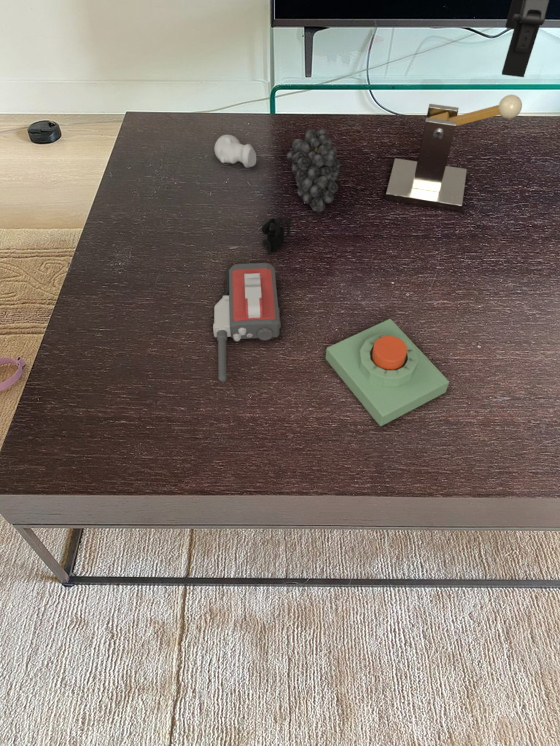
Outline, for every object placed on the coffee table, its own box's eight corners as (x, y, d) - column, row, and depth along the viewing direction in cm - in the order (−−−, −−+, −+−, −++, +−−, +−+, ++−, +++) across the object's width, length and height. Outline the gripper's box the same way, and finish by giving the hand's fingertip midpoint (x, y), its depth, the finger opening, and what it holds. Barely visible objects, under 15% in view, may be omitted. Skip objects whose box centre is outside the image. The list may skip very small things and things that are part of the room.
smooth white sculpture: (211, 162, 108) (231, 143, 109) (242, 181, 104) (263, 161, 105) (203, 144, 104) (224, 124, 105) (235, 163, 100) (256, 142, 101)
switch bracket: (465, 175, 104) (485, 102, 94) (460, 211, 98) (481, 138, 88) (393, 164, 106) (406, 91, 96) (385, 199, 100) (397, 126, 90)
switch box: (445, 392, 77) (453, 372, 74) (380, 426, 74) (384, 408, 70) (387, 329, 83) (392, 308, 80) (325, 358, 80) (327, 338, 77)
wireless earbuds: (266, 263, 91) (265, 236, 87) (252, 256, 92) (251, 229, 88) (293, 237, 94) (294, 210, 90) (279, 231, 95) (280, 204, 91)
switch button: (411, 362, 75) (414, 352, 74) (384, 375, 74) (386, 366, 72) (391, 340, 77) (393, 330, 76) (365, 352, 76) (367, 343, 74)
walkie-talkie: (214, 275, 89) (214, 387, 77) (211, 252, 86) (211, 366, 73) (275, 272, 89) (285, 384, 77) (275, 249, 86) (285, 362, 74)
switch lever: (523, 108, 90) (520, 87, 88) (523, 120, 88) (519, 99, 86) (434, 131, 96) (429, 112, 94) (432, 142, 94) (426, 123, 92)
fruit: (334, 173, 89) (331, 114, 98) (279, 187, 91) (281, 128, 100) (348, 218, 95) (344, 159, 104) (297, 231, 98) (297, 172, 107)
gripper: (537, -185, 74) (489, 7, 91) (536, -123, 59) (480, 93, 76) (603, -181, 73) (543, 13, 89) (619, -117, 58) (543, 101, 75)
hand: (513, 50), depth 83 cm, fingers open, 13 cm apart
